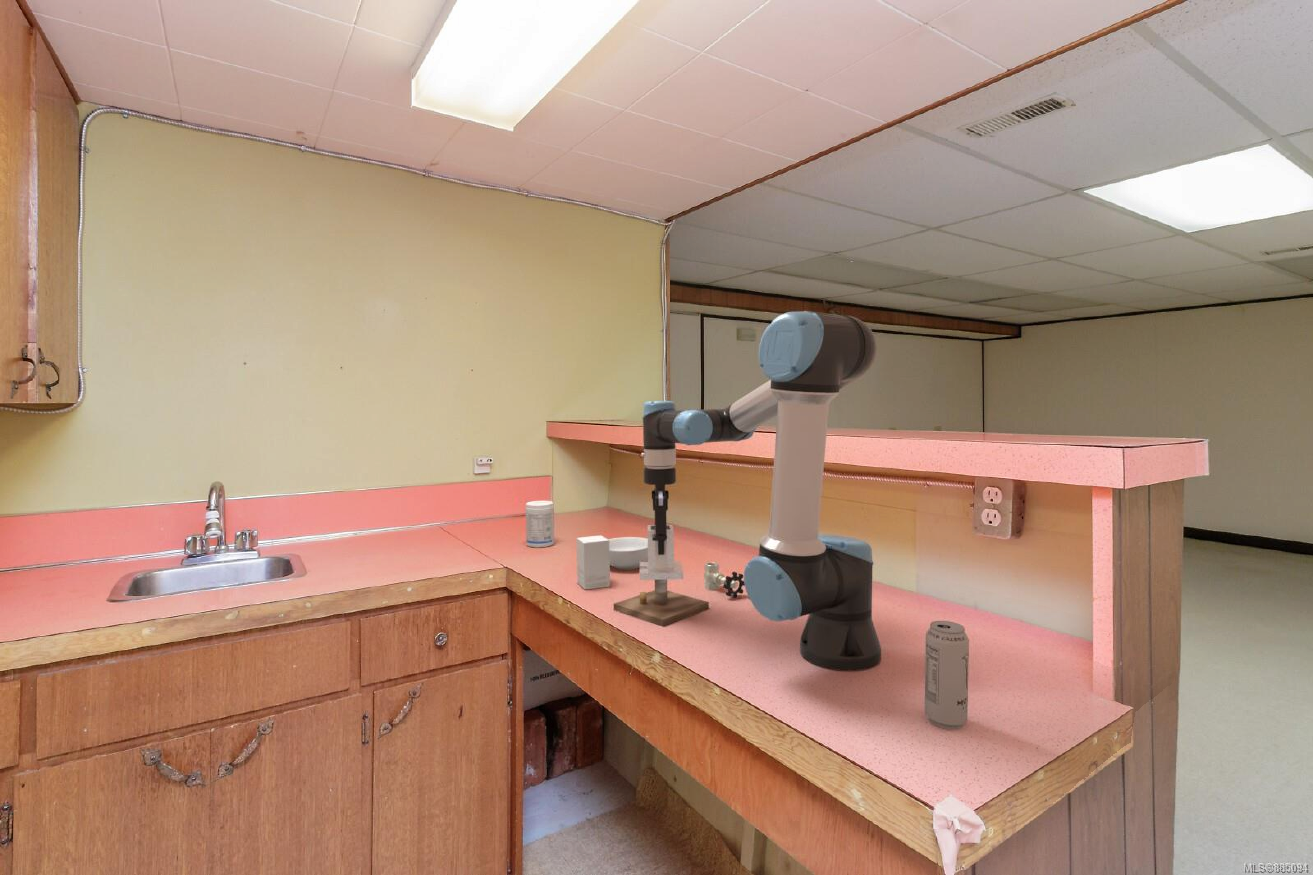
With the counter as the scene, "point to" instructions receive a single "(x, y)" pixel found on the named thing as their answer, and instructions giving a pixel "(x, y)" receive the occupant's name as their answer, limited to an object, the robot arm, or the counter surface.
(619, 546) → the cereal bowl
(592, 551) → the supplement box
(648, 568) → the white hollow block
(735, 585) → the valve
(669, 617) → the base board
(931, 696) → the energy drink can
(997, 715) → the counter surface
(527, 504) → the supplement tub
